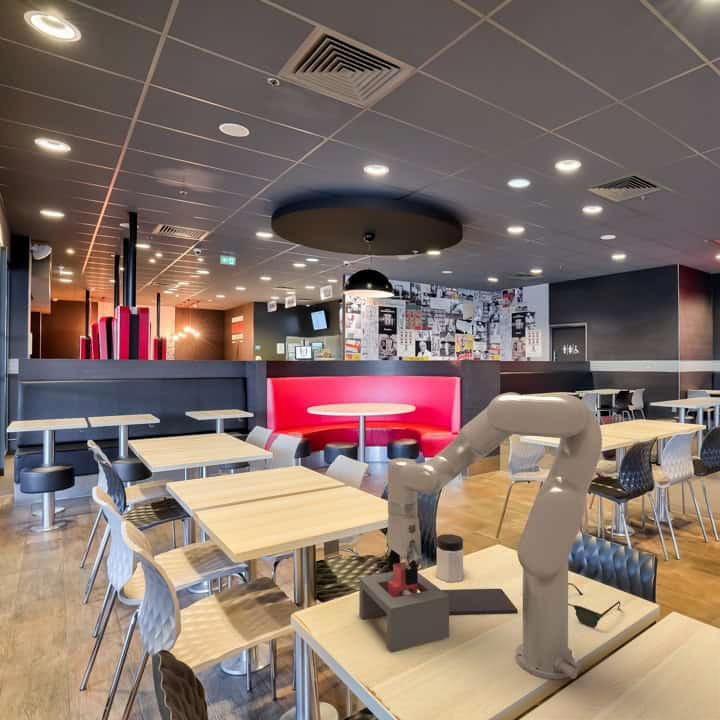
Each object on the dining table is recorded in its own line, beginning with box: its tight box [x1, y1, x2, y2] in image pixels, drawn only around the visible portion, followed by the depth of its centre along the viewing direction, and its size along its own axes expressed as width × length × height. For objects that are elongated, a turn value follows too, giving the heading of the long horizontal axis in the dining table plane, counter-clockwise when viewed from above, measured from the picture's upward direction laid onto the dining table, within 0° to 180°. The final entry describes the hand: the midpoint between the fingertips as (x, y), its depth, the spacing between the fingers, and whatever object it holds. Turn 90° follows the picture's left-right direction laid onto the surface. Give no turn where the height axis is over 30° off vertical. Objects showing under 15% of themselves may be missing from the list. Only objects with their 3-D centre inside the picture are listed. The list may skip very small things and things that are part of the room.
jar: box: [436, 533, 464, 583], centre depth 154 cm, size 9×8×12 cm
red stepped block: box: [388, 561, 418, 598], centre depth 124 cm, size 4×6×13 cm, turn 114°
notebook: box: [441, 588, 519, 616], centre depth 136 cm, size 13×2×21 cm
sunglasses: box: [568, 582, 621, 629], centre depth 133 cm, size 16×17×5 cm
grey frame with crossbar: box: [358, 571, 450, 653], centre depth 124 cm, size 18×16×10 cm
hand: (402, 576), depth 124 cm, fingers open, 8 cm apart
